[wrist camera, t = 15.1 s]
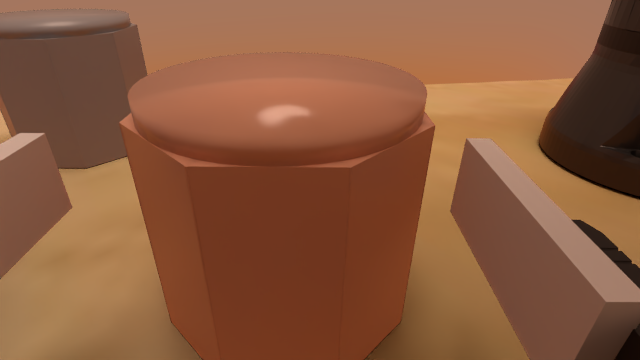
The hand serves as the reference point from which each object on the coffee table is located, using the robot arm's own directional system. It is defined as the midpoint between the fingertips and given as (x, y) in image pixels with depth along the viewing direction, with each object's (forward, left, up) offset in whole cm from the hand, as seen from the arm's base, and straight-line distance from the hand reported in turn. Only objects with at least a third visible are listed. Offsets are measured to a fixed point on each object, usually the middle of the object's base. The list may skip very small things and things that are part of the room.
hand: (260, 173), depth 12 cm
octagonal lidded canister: (-1, -3, -8) cm, 8 cm away
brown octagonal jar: (+17, -20, -8) cm, 27 cm away
